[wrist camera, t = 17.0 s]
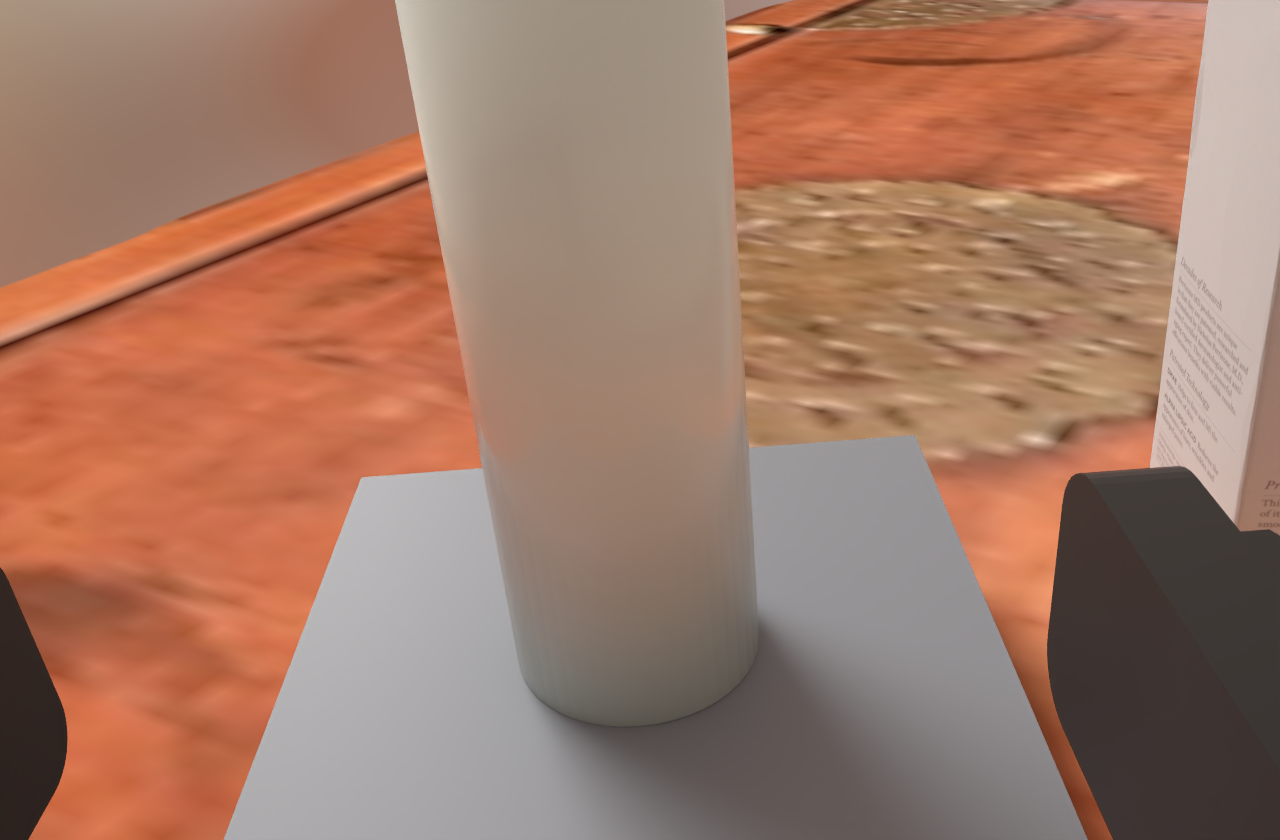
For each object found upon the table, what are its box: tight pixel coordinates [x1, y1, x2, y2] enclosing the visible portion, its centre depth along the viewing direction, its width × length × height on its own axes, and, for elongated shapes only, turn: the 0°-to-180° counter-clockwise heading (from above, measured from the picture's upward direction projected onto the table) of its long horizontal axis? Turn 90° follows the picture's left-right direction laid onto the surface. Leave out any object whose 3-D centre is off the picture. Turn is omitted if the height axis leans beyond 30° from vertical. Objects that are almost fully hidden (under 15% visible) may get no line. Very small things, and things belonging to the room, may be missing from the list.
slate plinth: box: [224, 435, 1088, 840], centre depth 24 cm, size 14×14×4 cm
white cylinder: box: [395, 0, 759, 727], centre depth 20 cm, size 5×5×14 cm
